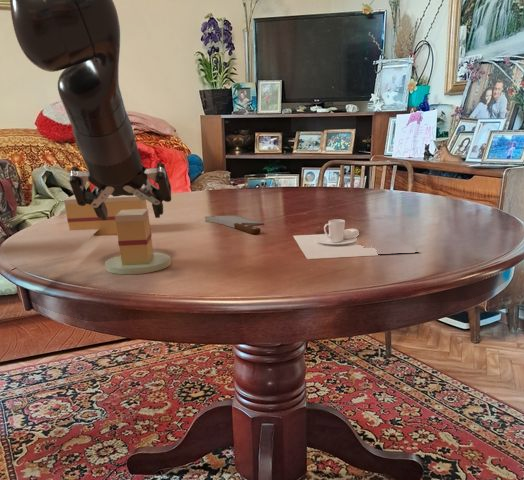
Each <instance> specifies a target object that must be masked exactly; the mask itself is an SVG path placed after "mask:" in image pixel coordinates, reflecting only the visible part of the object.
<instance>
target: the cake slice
mask: <svg viewBox="0 0 524 480" xmlns="http://www.w3.org/2000/svg"><path fill="white" fill-rule="evenodd" d="M115 222H116V228H117V234H116V236H117V244H118V248H119V254H120V255H119V256H121V261H122V265H133V264H149V263H150V261H151V259H152V257H153V253H154V247H153V239H152V232H151V224H150V217H149V209H148V208H147V209H134V210H121V211H120V212H119V213H117V214H116V215H115Z"/></svg>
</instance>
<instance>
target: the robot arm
mask: <svg viewBox="0 0 524 480" xmlns="http://www.w3.org/2000/svg"><path fill="white" fill-rule="evenodd" d="M9 7H10V16H11V22H12V27H13V31H14V34H15V37H16V40H17V43H18V45H19V47H20V49H21V51H22V52H23V54H24V56H25V57H26V58H27V60H28V61H30V62H31V64H33V65H34V66H35V67H37V68H38V69H41V70H42V71H45V72H50V73H52V72H53V73H54V72H58V71H62V72H61V73H60V75H59V77H58V80H57V91H58V95H59V98H60V100H61V103H62V105H63V107H64V110H65V112H66V116H67V117H68V120H69V122H70V125H71V129H72V134H73V137H74V140H75V145H76V147H77V149H78V150H79V152H80V154H81V157H82V160H83V162H84V164H85V166H86V169H87V171H86V170H85V171H84V170H83V171H82V170H80V169H79V168H78V167H77V166H71V167H70V171H69V185H70V187H71V190H72V192H73V195H75V198H76V200H77V203H78V205H80V206H85V205H86V204H90V205H91V207H93V208H94V210H95V213H96V215H97V216H98V217H99V218H102V220H103V221H105V220H107V215H108V212H107V208H106V205H105V203H104V202H105V200H106V199H107V198H108V196H109V195H113V196H121V195H126V196H134V195H135V196H137V197H139V198H140V199H142V200H146V201H147V202H149V203H150V204H151V206H152V207H151V208H152V210H153V214H154V218H155V219H160V218H161V215H162V216H163V214H164V203H163V202H166V203H170V202H172V185H171V182H170V178H169V175H168V172H167V169H166V166H165V165H166V164H164V163H163V162H158V163H156V167H154V168H153V167H152V168H147V167H146V166H145V165H143V163H142V159H141V156H140V155H141V154H140V151H139V149H138V148H139V147H138V144H137V141H136V136H135V132H134V129H133V125H132V122H131V120H130V117H129V115H128V113H127V111H126V106H125V104H124V100H123V95H122V92H121V89H120V82H119V79H120V78H119V77H120V76H119V69H120V67H119V66H120V54H121V53H120V52H121V25H120V19H119V14H118V12H117V8H116V4H115V3H114V1H113V0H9ZM151 180H152V182H154V183H152V182H151ZM87 182H89V183H90V184H92V185H93V186H94V187H93V189H92V190H91V191H87V189H86V185H87Z"/></svg>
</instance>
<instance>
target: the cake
mask: <svg viewBox="0 0 524 480" xmlns="http://www.w3.org/2000/svg"><path fill="white" fill-rule="evenodd" d="M63 202H64V203H63V204H64V208H65V213H66V218H67V219H66V220H67V224H68V229H69V231H85V230H86V231H87V230H88V231H89V230H96V231H95V232H94V233H93V234H92V235H97V236H113V235H114V234H116V235H117V228H116V222H115V215H116V214H117V213H119V212H120V211H121V210H134V209H148V206H147V200H142V199H140V198H139V197H137V196H135V195H134V196H126V195H121V196H113V195H109V196H108V198H107V199H106V200H105V202H104V203H105V205H106V208H107V212H108V215H107V220H105V221H103V220H102V218H99V217H98V216H97V215H96V213H95V210H94V208H93V207H91V205H90V204H86V205H85V206H80V205H78V203H77V200H76V198H75V195H74V194H73V195H71V196H68V197H67V198H65V199H63Z"/></svg>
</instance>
